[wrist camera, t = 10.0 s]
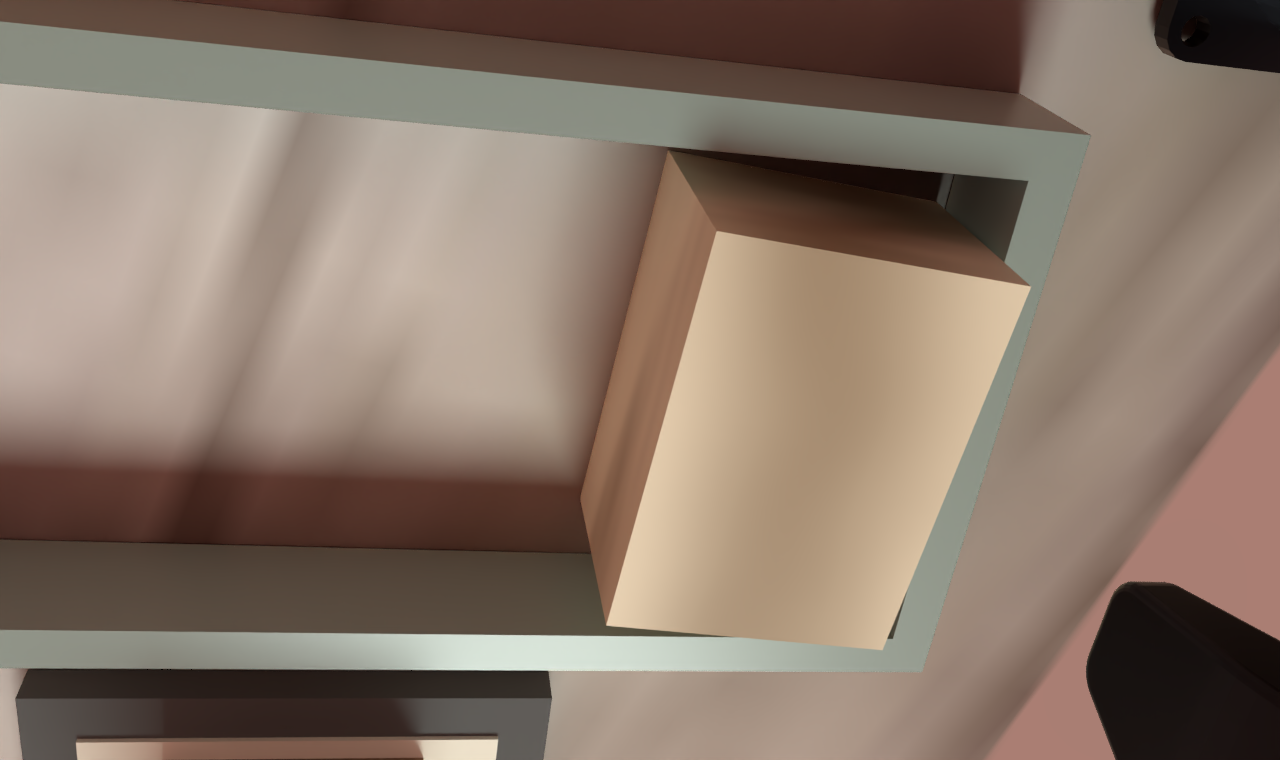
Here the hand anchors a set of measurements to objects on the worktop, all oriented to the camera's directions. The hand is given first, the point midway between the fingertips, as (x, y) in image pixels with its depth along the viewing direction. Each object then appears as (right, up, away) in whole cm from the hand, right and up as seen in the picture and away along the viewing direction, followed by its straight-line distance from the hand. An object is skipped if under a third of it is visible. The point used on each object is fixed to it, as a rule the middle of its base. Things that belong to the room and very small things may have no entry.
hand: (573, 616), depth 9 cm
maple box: (+3, +2, +13) cm, 14 cm away
